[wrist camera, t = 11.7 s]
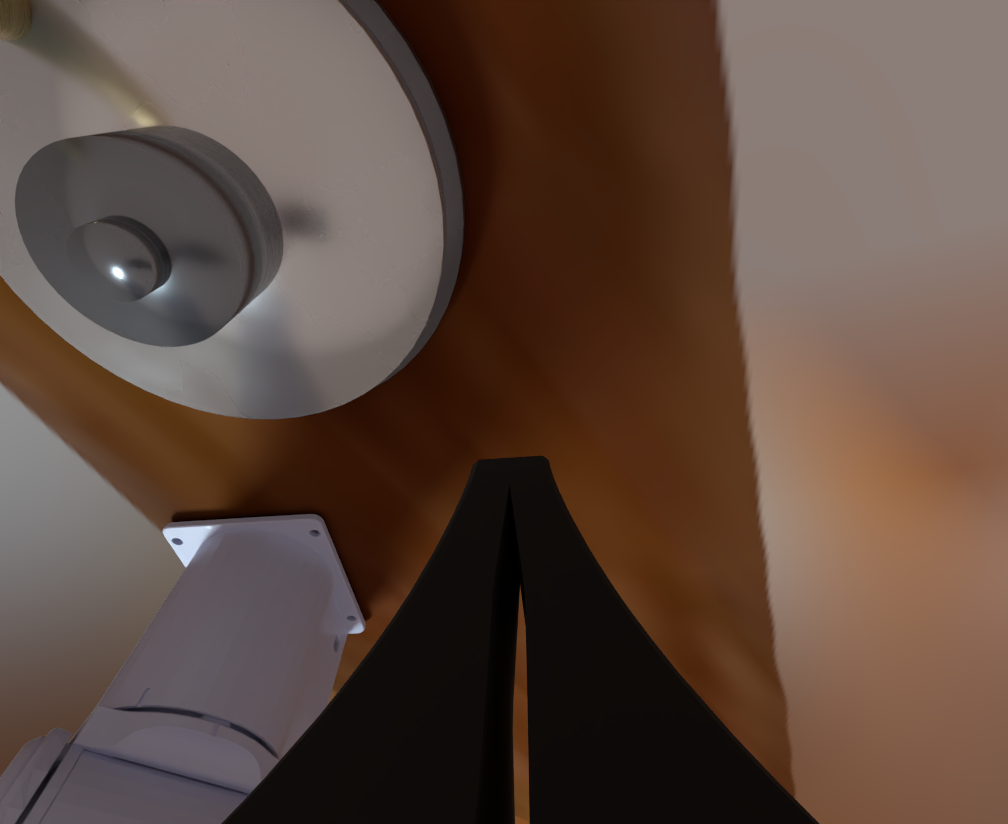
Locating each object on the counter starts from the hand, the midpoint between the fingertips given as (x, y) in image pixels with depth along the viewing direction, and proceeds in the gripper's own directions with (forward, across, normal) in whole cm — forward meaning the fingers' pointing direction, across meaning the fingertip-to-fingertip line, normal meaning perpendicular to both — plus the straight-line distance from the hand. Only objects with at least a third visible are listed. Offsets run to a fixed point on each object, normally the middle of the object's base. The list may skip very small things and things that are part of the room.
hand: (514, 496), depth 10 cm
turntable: (+9, +9, -4) cm, 13 cm away
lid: (+8, +9, -4) cm, 13 cm away
